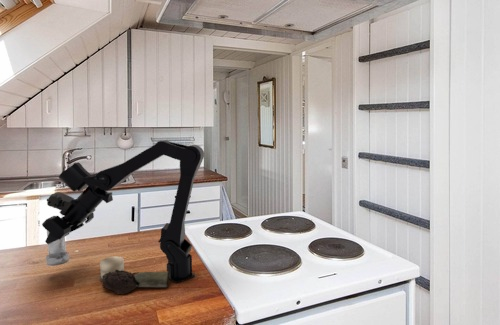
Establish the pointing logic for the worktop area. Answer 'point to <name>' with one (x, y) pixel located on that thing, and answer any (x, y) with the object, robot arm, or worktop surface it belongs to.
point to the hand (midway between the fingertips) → (51, 240)
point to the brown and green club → (133, 280)
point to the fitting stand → (111, 265)
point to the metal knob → (57, 252)
